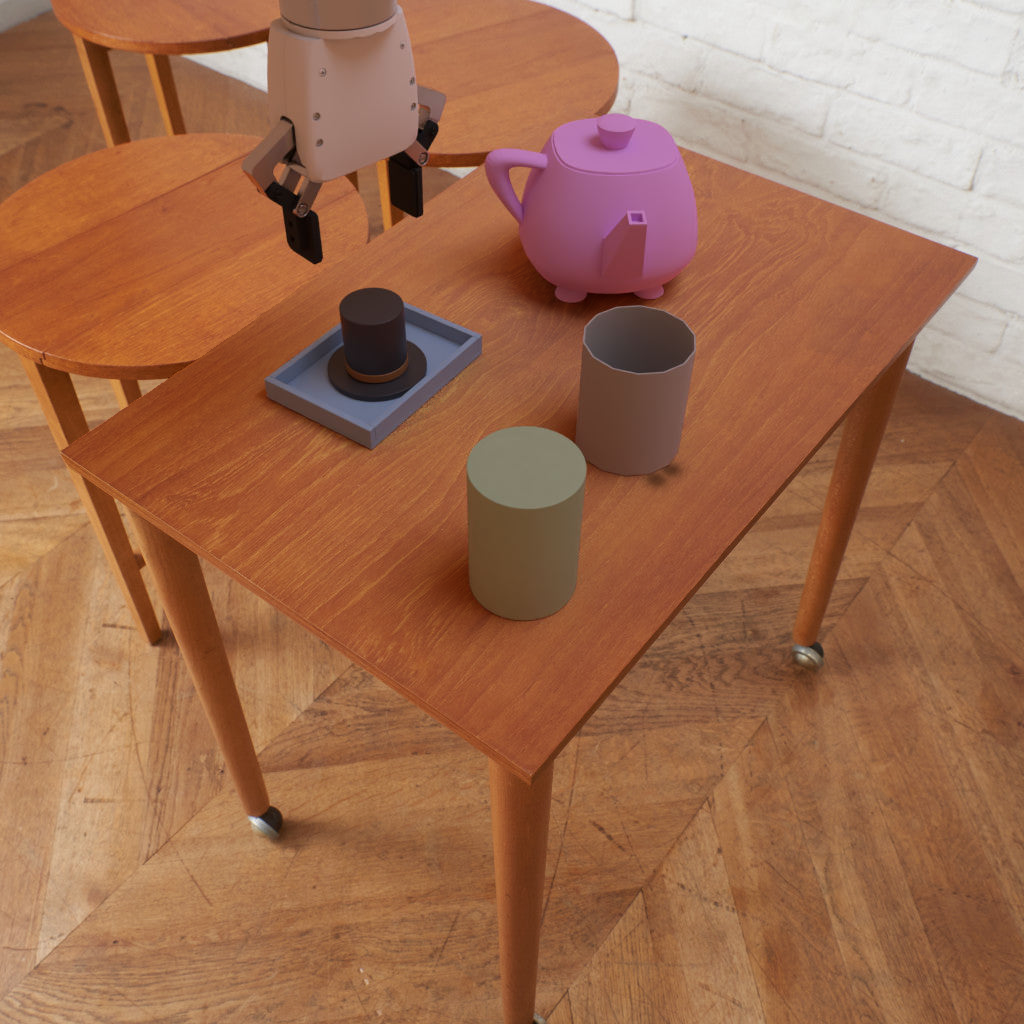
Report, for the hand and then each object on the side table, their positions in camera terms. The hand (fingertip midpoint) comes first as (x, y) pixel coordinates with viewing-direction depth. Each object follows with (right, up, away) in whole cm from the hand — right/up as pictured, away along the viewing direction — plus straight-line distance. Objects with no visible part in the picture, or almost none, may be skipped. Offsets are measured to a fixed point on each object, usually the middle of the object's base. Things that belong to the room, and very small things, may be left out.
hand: (358, 232), depth 79 cm
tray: (0, -9, +10) cm, 14 cm away
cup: (+21, -15, +5) cm, 26 cm away
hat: (0, -9, +10) cm, 14 cm away
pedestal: (+12, -26, -5) cm, 29 cm away
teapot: (+19, +1, +21) cm, 28 cm away
